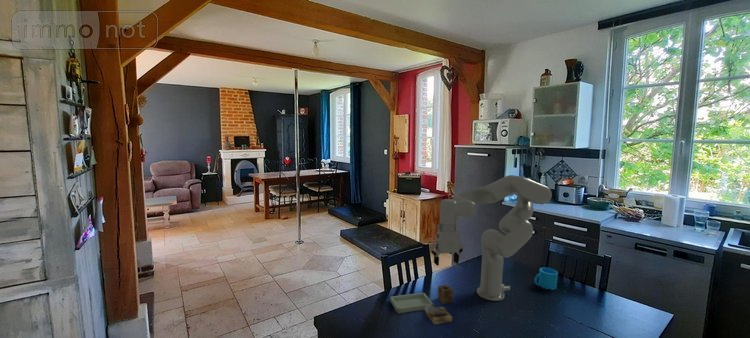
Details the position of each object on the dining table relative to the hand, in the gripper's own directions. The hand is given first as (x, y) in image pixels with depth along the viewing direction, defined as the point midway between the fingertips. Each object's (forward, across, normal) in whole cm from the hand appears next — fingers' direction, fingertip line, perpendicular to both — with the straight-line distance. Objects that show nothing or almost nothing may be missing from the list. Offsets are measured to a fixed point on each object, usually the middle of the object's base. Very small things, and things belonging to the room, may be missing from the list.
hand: (446, 263), depth 144 cm
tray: (+18, -16, 0) cm, 24 cm away
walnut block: (+18, 0, 0) cm, 18 cm away
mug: (+18, +56, +1) cm, 59 cm away
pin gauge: (+17, -7, -12) cm, 21 cm away
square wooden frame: (+18, -9, -12) cm, 23 cm away
